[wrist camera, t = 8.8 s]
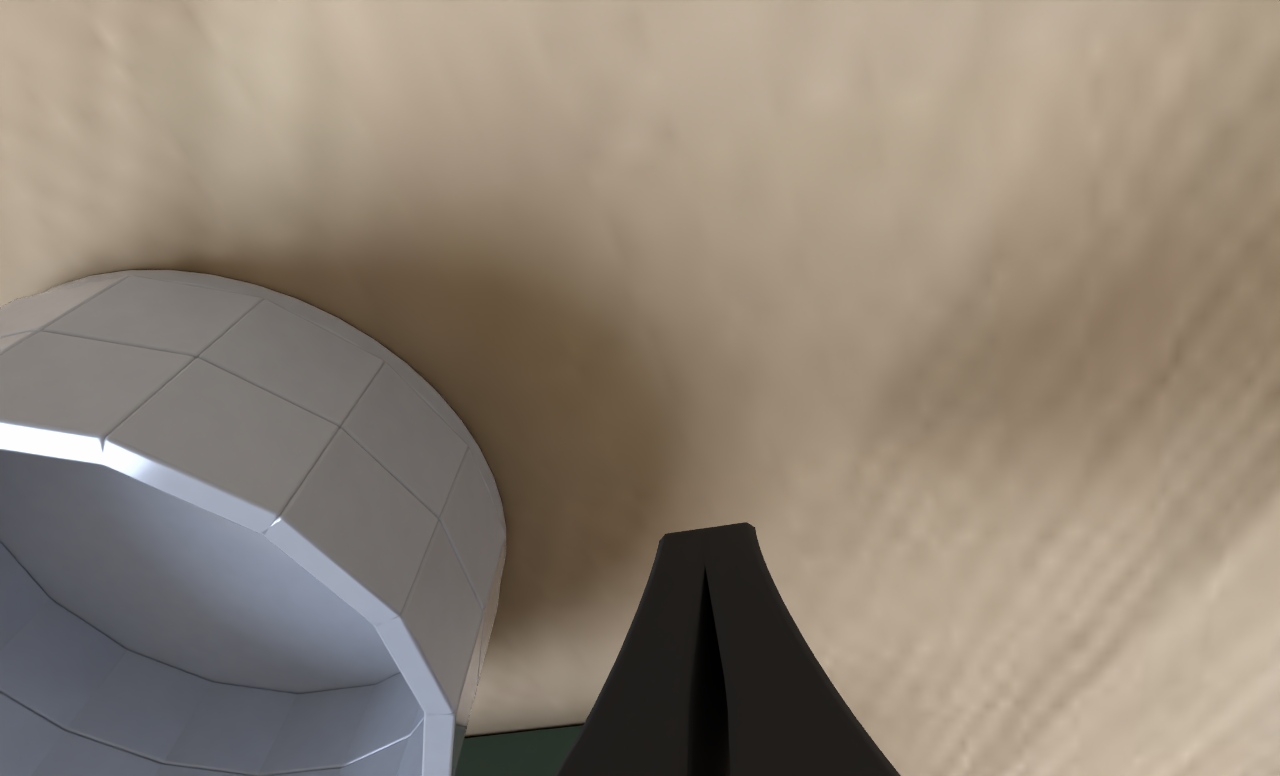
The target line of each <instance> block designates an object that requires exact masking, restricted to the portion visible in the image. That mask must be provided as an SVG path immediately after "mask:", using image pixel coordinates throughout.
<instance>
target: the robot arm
mask: <svg viewBox="0 0 1280 776" xmlns="http://www.w3.org/2000/svg"><path fill="white" fill-rule="evenodd" d="M555 776H900V774H899V773H898V772H897V771H896V769H895V768H894V767H893V766H892V764H891V763H890V762H889V761H888V759H887V758H886V757H885V756H884V754H883V753H882V752H881V750H880V749H879V748H878V747H877V745H876V744H875V743H874V741H873V740H872V739H871V737H870V736H869V735H868V733H867V732H866V731H865V729H864V728H863V727H862V725H861V724H860V723H859V721H858V720H857V719H856V717H855V716H854V714H853V713H852V712H851V710H850V709H849V707H848V706H847V704H846V703H845V702H844V700H843V699H842V697H841V696H840V694H839V693H838V691H837V690H836V688H835V687H834V685H833V684H832V682H831V681H830V679H829V678H828V676H827V675H826V673H825V672H824V670H823V669H822V667H821V665H820V664H819V662H818V661H817V659H816V658H815V656H814V654H813V653H812V651H811V650H810V648H809V646H808V645H807V643H806V641H805V640H804V638H803V636H802V634H801V633H800V631H799V629H798V627H797V625H796V624H795V622H794V620H793V618H792V616H791V615H790V613H789V611H788V609H787V608H786V606H785V604H784V602H783V600H782V598H781V596H780V594H779V592H778V590H777V588H776V586H775V584H774V581H773V579H772V577H771V575H770V573H769V570H768V568H767V566H766V563H765V561H764V558H763V555H762V553H761V550H760V547H759V543H758V540H757V536H756V530H755V527H753V526H752V525H750V524H748V523H747V522H745V523H738V524H731V525H724V526H717V527H710V528H703V529H696V530H689V531H682V532H675V533H668V534H665V535H664V536H663V537H662V539H661V540H660V541H659V545H658V549H657V553H656V557H655V560H654V563H653V567H652V570H651V573H650V576H649V579H648V582H647V585H646V587H645V590H644V593H643V596H642V598H641V601H640V604H639V607H638V609H637V612H636V614H635V616H634V619H633V621H632V624H631V626H630V629H629V631H628V633H627V636H626V638H625V641H624V643H623V645H622V648H621V650H620V652H619V655H618V657H617V659H616V661H615V663H614V665H613V667H612V670H611V672H610V674H609V676H608V678H607V680H606V682H605V684H604V686H603V688H602V690H601V692H600V694H599V696H598V698H597V700H596V702H595V705H594V707H593V708H592V710H591V712H590V714H589V716H588V718H587V720H586V722H585V723H584V725H583V727H582V729H581V731H580V733H579V734H578V736H577V738H576V740H575V742H574V743H573V745H572V747H571V749H570V750H569V752H568V754H567V755H566V757H565V759H564V760H563V762H562V764H561V766H560V767H559V769H558V771H557V772H556V774H555Z"/></svg>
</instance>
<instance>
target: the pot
mask: <svg viewBox="0 0 1280 776" xmlns="http://www.w3.org/2000/svg"><path fill="white" fill-rule="evenodd" d="M505 558H506V525H505V519H504V512H503V505H502V502H501V499H500V496H499V492H498V489H497V486H496V483H495V480H494V477H493V474H492V472H491V470H490V468H489V466H488V464H487V462H486V460H485V458H484V456H483V454H482V452H481V450H480V448H479V446H478V445H477V443H476V442H475V440H474V439H473V437H472V435H471V434H470V432H469V431H468V429H467V428H466V426H465V425H464V423H463V422H462V420H461V419H460V418H459V417H458V415H457V414H456V413H455V412H454V411H453V410H452V408H451V407H450V406H449V405H448V404H447V403H446V401H445V400H444V399H443V398H442V397H441V396H440V394H439V393H438V392H437V391H436V390H435V389H434V388H433V387H432V386H431V385H430V384H429V383H427V382H426V381H425V380H424V379H423V378H422V377H421V376H420V375H419V374H418V373H417V372H416V371H415V370H413V369H412V368H411V367H410V366H409V365H408V364H407V363H406V362H404V361H403V360H402V359H400V358H399V357H397V356H396V355H395V354H393V353H392V352H391V351H389V350H388V349H387V348H385V347H384V346H383V345H381V344H380V343H379V342H377V341H376V340H375V339H373V338H371V337H370V336H368V335H366V334H365V333H363V332H361V331H360V330H358V329H356V328H355V327H353V326H351V325H349V324H348V323H346V322H344V321H343V320H341V319H339V318H338V317H336V316H334V315H331V314H329V313H327V312H325V311H323V310H321V309H318V308H316V307H314V306H312V305H310V304H308V303H305V302H303V301H301V300H299V299H297V298H294V297H291V296H288V295H285V294H282V293H279V292H276V291H273V290H270V289H268V288H265V287H262V286H259V285H256V284H252V283H247V282H243V281H238V280H234V279H230V278H225V277H221V276H217V275H211V274H202V273H194V272H185V271H176V270H127V271H120V272H113V273H106V274H99V275H92V276H88V277H84V278H81V279H78V280H74V281H71V282H68V283H64V284H61V285H58V286H55V287H53V288H51V289H49V290H47V291H45V292H43V293H41V294H37V295H32V296H28V297H23V298H19V299H15V300H14V301H12V302H10V303H8V304H6V305H4V306H2V307H0V776H454V775H455V771H456V767H457V764H458V760H459V756H460V752H461V748H462V744H463V740H464V736H465V733H466V729H467V725H468V721H469V717H470V713H471V709H472V705H473V702H474V698H475V694H476V689H477V686H478V682H479V678H480V674H481V671H482V667H483V663H484V659H485V655H486V651H487V647H488V643H489V640H490V636H491V632H492V628H493V624H494V620H495V616H496V612H497V609H498V600H499V591H500V582H501V578H502V573H503V568H504V563H505Z"/></svg>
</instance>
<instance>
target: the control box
mask: <svg viewBox="0 0 1280 776" xmlns="http://www.w3.org/2000/svg"><path fill="white" fill-rule="evenodd" d="M582 727H583V725H581V726H572V727H563V728H554V729H545V730H535V731H526V732H517V733H508V734H499V735H490V736H481V737H471V738H464V740H463V744H462V748H461V752H460V756H459V760H458V764H457V767H456V771H455V775H454V776H555V774H556V772H557V771H558V769H559V767H560V766H561V764H562V762H563V760H564V759H565V757H566V755H567V754H568V752H569V750H570V749H571V747H572V745H573V743H574V742H575V740H576V738H577V736H578V734H579V733H580V731H581V729H582Z"/></svg>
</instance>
